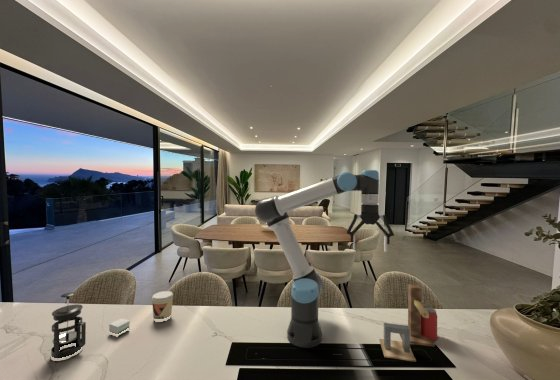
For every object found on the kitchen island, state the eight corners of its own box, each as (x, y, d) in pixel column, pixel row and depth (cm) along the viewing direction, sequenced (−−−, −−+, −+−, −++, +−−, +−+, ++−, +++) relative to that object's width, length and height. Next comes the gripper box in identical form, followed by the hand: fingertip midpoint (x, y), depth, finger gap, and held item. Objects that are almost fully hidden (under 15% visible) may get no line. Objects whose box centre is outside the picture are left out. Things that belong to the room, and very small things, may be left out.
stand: (408, 355, 95) (409, 298, 95) (396, 327, 114) (396, 280, 114) (443, 360, 92) (443, 301, 92) (424, 330, 111) (424, 282, 112)
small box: (117, 338, 104) (117, 326, 104) (108, 335, 106) (108, 323, 106) (130, 331, 109) (130, 320, 109) (121, 328, 111) (121, 317, 111)
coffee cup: (147, 323, 116) (147, 297, 116) (160, 313, 125) (160, 290, 125) (165, 325, 114) (165, 299, 114) (176, 315, 123) (176, 291, 123)
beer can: (440, 341, 103) (440, 313, 103) (424, 340, 104) (424, 312, 104) (432, 332, 110) (432, 306, 110) (417, 331, 111) (417, 305, 110)
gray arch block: (385, 349, 97) (385, 326, 97) (383, 344, 100) (383, 322, 100) (409, 352, 95) (409, 329, 95) (407, 348, 98) (407, 325, 98)
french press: (41, 361, 89) (42, 299, 89) (64, 345, 98) (64, 288, 98) (73, 362, 89) (74, 299, 89) (93, 346, 98) (93, 289, 98)
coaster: (384, 357, 93) (384, 355, 93) (379, 340, 104) (379, 338, 104) (416, 361, 91) (416, 360, 91) (407, 343, 102) (407, 342, 102)
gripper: (341, 203, 110) (341, 250, 110) (401, 205, 105) (401, 254, 105) (341, 203, 118) (341, 246, 118) (397, 204, 112) (397, 250, 112)
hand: (369, 250), depth 111 cm, fingers open, 13 cm apart
